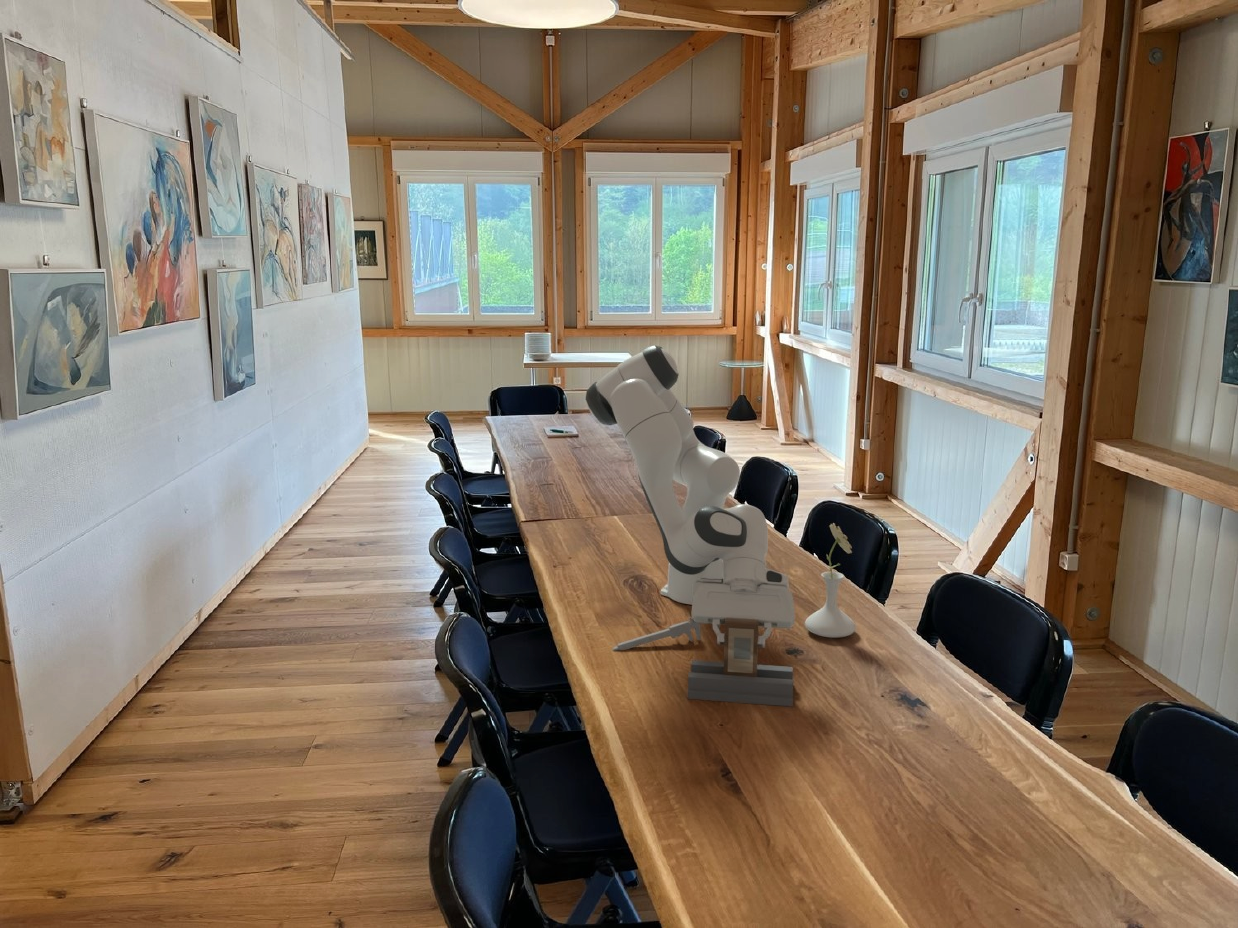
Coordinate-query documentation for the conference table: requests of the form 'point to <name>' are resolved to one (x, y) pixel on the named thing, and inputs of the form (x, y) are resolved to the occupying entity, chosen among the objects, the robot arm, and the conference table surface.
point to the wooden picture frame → (740, 647)
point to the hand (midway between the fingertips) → (741, 644)
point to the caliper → (664, 634)
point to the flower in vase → (832, 600)
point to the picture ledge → (741, 684)
